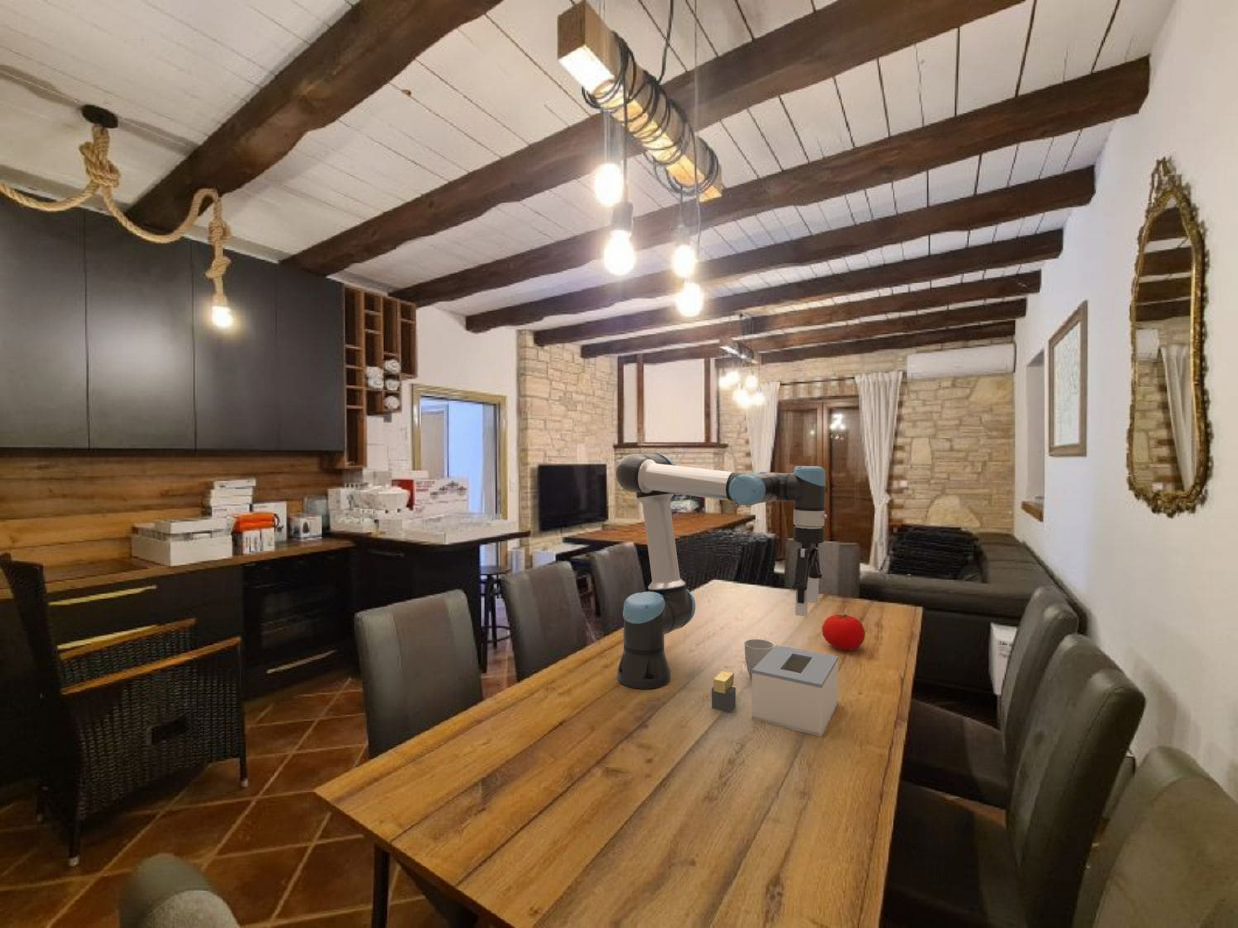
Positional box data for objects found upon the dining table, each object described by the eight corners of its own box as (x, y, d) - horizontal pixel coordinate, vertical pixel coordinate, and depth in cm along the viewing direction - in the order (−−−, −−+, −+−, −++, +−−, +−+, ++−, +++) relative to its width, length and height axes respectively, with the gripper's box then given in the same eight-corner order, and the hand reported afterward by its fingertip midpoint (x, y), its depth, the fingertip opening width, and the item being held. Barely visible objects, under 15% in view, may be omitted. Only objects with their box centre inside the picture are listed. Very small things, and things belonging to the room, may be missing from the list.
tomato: (873, 651, 176) (873, 617, 176) (841, 656, 171) (841, 622, 171) (845, 639, 187) (845, 608, 187) (815, 644, 182) (815, 612, 182)
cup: (774, 685, 150) (774, 649, 150) (744, 683, 151) (744, 647, 151) (772, 674, 158) (772, 640, 157) (743, 671, 159) (743, 638, 159)
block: (711, 707, 137) (711, 688, 137) (716, 702, 140) (717, 683, 140) (730, 712, 134) (730, 692, 134) (735, 707, 137) (735, 687, 137)
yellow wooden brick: (713, 690, 135) (713, 678, 135) (722, 682, 140) (722, 670, 140) (725, 693, 134) (725, 681, 133) (733, 684, 139) (733, 673, 139)
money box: (752, 718, 131) (752, 669, 131) (775, 688, 148) (776, 644, 148) (821, 737, 122) (821, 684, 122) (838, 702, 139) (838, 656, 139)
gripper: (814, 533, 126) (812, 624, 127) (832, 522, 147) (831, 599, 148) (781, 531, 130) (780, 618, 130) (804, 520, 151) (802, 595, 152)
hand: (807, 608), depth 139 cm, fingers open, 13 cm apart
